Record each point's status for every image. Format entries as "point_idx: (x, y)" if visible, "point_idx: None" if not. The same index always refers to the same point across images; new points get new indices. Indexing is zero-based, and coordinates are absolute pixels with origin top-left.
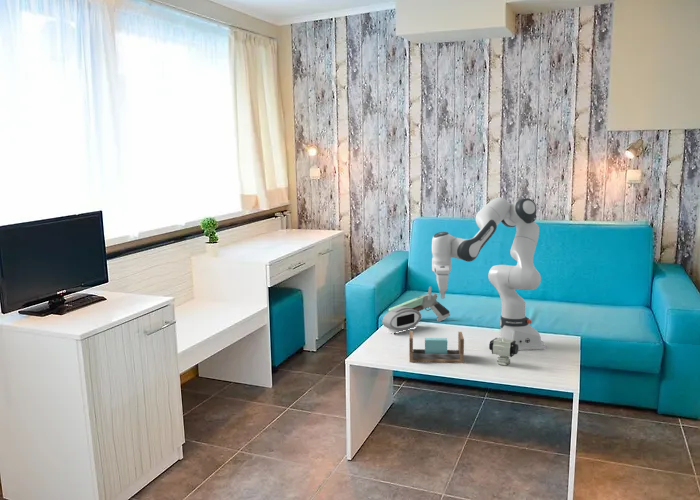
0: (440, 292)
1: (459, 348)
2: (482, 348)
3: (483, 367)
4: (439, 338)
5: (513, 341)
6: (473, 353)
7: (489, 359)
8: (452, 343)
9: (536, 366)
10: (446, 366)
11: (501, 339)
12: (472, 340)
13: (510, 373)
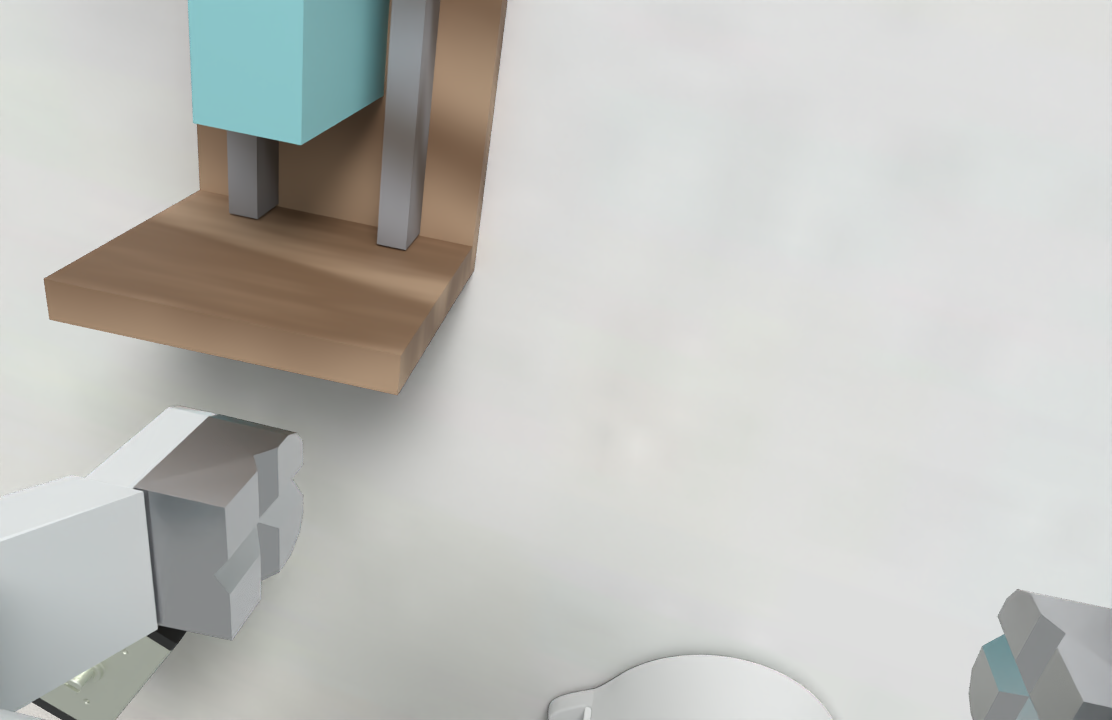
0: (1020, 645)
1: (267, 247)
2: (651, 511)
3: (117, 347)
4: (286, 27)
5: (67, 718)
6: (507, 390)
7: (330, 459)
8: (900, 293)
9: (189, 675)
10: (91, 8)
11: (115, 660)
12: (943, 515)
13: (14, 482)
